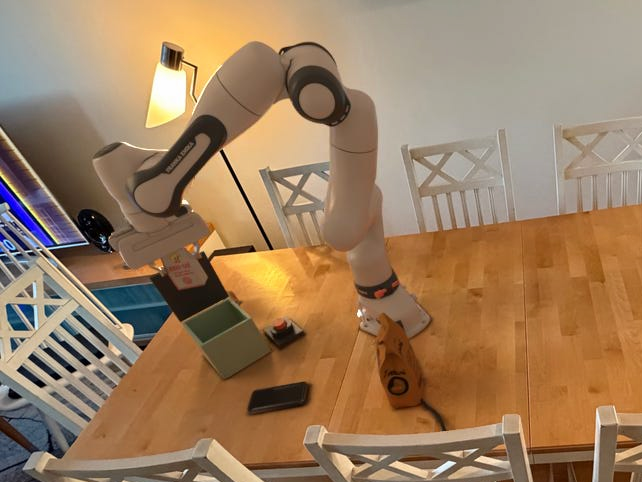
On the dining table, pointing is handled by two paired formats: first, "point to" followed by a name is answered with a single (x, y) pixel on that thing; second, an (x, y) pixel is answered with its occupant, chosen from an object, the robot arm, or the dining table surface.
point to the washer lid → (191, 292)
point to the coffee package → (397, 365)
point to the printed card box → (184, 269)
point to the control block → (284, 333)
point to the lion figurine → (233, 297)
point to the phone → (278, 397)
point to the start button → (279, 324)
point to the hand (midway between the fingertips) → (182, 266)
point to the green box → (226, 337)
